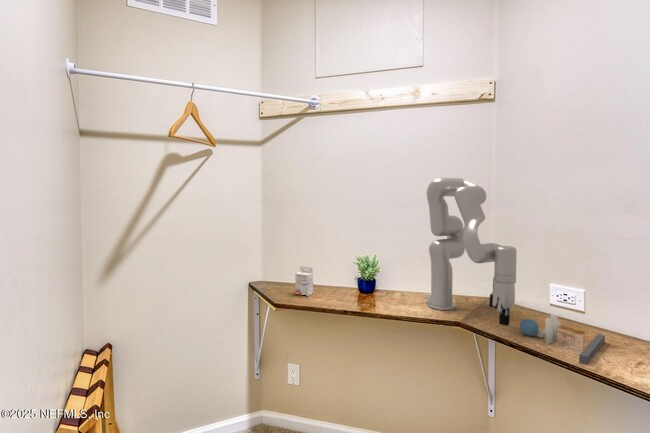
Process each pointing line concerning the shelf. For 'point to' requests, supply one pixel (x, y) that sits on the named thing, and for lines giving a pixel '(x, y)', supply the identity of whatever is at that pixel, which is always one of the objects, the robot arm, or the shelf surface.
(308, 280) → the ink cartridge box
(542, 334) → the front pin
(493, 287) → the padlock
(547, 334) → the pin
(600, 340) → the grey long square bar
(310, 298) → the shelf surface
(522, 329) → the ball
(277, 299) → the shelf surface
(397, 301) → the shelf surface
